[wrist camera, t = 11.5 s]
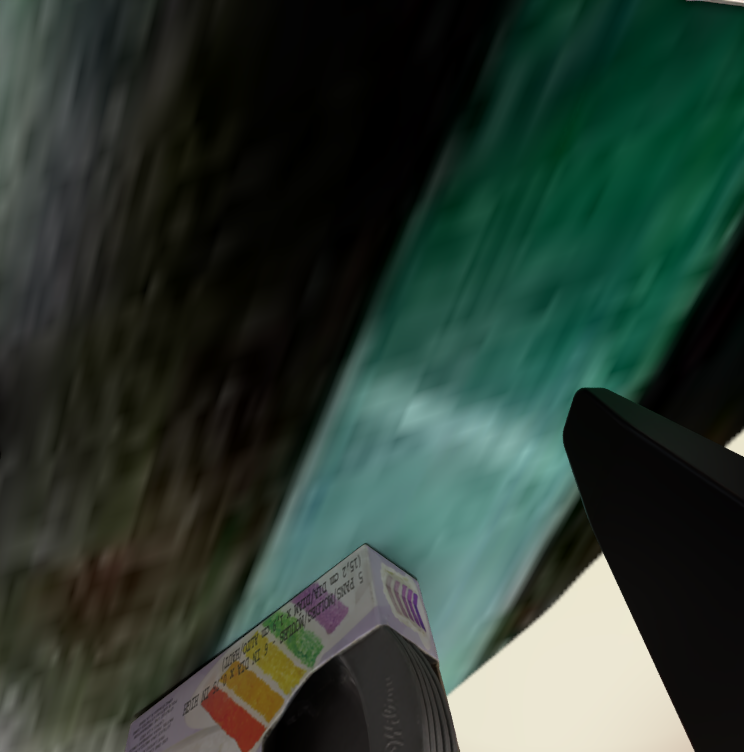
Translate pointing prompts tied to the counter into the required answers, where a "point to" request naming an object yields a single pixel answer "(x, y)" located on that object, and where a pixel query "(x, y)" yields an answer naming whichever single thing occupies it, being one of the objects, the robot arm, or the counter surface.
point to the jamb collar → (724, 1)
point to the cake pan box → (318, 676)
